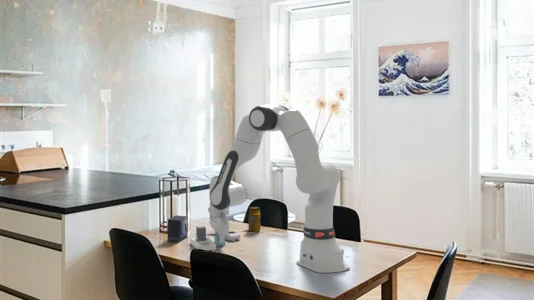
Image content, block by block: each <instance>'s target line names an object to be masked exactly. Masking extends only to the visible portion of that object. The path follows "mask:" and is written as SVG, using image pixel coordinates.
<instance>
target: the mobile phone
mask: <svg viewBox="0 0 534 300" xmlns="http://www.w3.org/2000/svg"><path fill="white" fill-rule="evenodd" d="M208 224H209V225H210V221H208ZM213 230H214V229H213ZM214 232H215V230H214ZM224 236H225V240H226V239H227V240H226V241H230V242H234V243H235V242H236V240H240V239H241V234H240V233H238V232H236V231H231V230H229V235H224Z"/></svg>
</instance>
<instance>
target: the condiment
mask: <svg viewBox="0 0 534 300" xmlns="http://www.w3.org/2000/svg"><path fill="white" fill-rule="evenodd" d="M242 232H244V233H249V234H255V233H261V232H264V230H262V229H261V208H260V207H258V206H250V207H249V210H248V229H244V230H242Z"/></svg>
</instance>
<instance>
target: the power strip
mask: <svg viewBox="0 0 534 300" xmlns="http://www.w3.org/2000/svg"><path fill="white" fill-rule="evenodd" d="M190 245H192V247H193V248H194V249H195V248H198V249H206V250H212V251H217V246H216V244H215V243H214V241H213V240H212V239H211V238H210V237H208V236H206V240H205V241H196V237H190Z"/></svg>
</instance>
